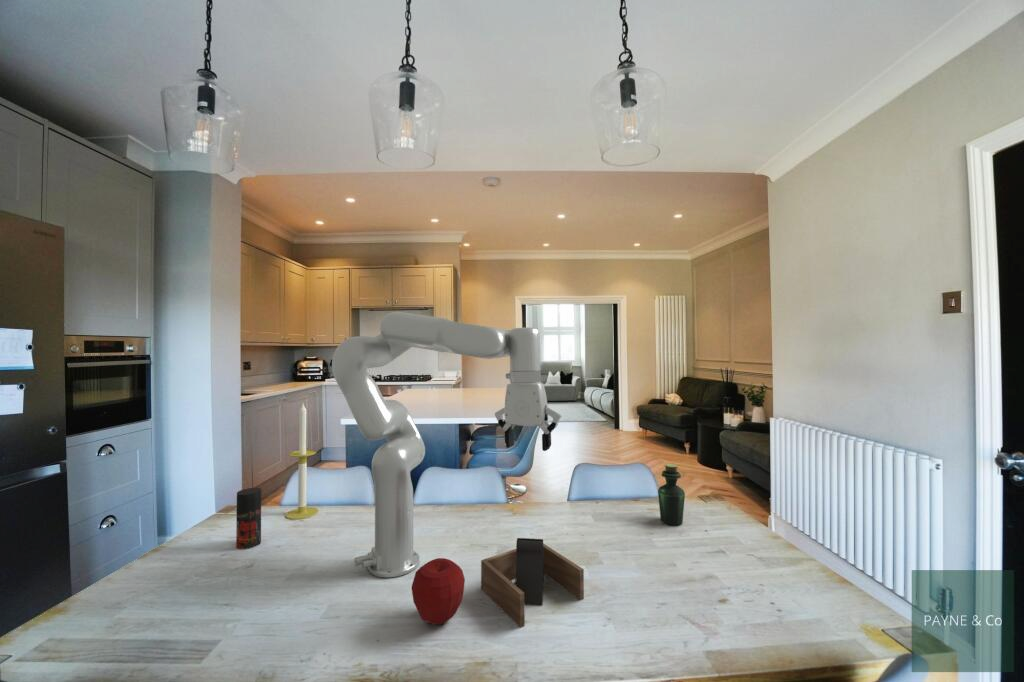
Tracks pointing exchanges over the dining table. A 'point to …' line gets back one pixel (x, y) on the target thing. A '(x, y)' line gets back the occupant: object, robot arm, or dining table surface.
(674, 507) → the potion bottle
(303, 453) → the candle
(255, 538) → the deodorant
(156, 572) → the dining table surface
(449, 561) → the apple
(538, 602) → the phone stand
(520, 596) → the open box
